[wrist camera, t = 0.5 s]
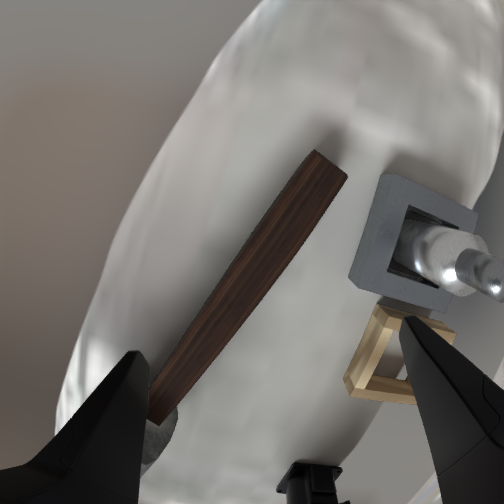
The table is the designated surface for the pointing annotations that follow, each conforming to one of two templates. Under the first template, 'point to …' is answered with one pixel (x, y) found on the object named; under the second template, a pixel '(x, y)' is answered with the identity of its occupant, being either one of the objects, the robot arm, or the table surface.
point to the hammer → (240, 293)
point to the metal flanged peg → (450, 259)
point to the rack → (370, 353)
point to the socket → (386, 235)
